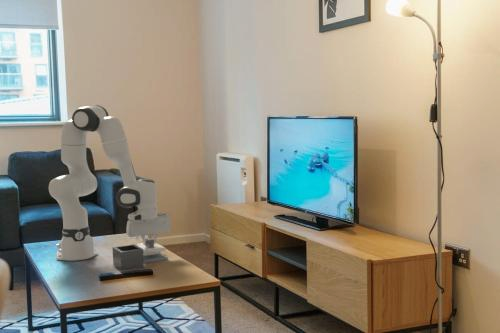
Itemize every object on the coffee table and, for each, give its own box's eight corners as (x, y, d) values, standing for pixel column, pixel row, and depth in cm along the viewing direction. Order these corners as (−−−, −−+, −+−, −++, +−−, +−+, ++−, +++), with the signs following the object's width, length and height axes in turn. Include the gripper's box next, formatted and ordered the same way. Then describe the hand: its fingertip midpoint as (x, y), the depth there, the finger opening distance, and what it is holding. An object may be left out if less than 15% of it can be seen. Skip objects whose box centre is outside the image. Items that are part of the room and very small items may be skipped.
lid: (134, 251, 307) (133, 238, 306) (156, 248, 311) (155, 235, 311) (143, 256, 295) (142, 243, 295) (165, 253, 300) (165, 240, 300)
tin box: (113, 265, 293) (112, 247, 292) (135, 261, 298) (134, 244, 297) (121, 270, 282) (120, 252, 282) (144, 267, 287) (143, 249, 286)
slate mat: (132, 256, 307) (132, 254, 307) (157, 253, 313) (157, 251, 313) (142, 263, 295) (142, 260, 295) (167, 259, 300) (167, 257, 300)
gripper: (167, 210, 309) (168, 240, 311) (124, 215, 300) (125, 245, 301) (172, 212, 304) (173, 242, 305) (128, 217, 294) (130, 248, 296)
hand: (149, 244), depth 303 cm, fingers closed on lid, 2 cm apart
